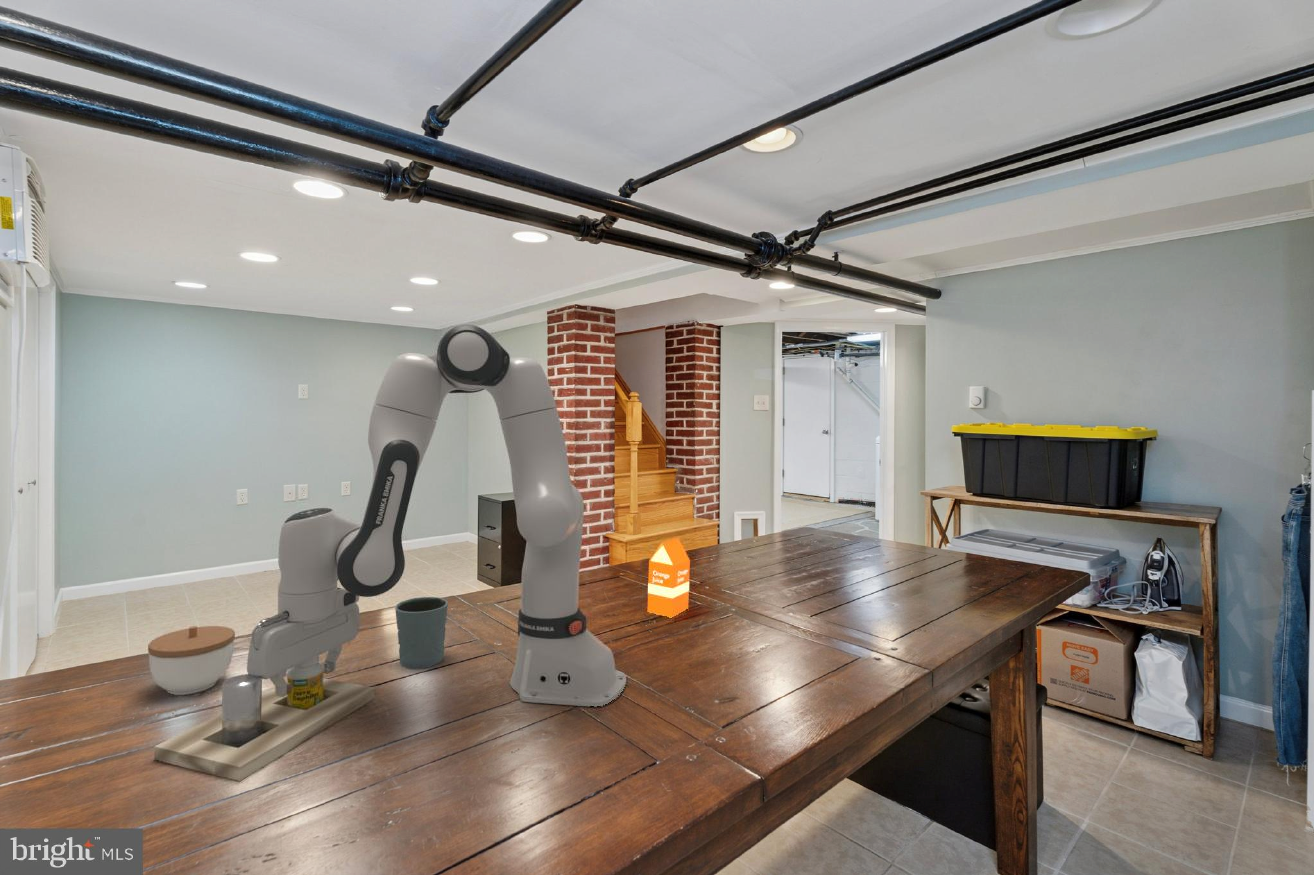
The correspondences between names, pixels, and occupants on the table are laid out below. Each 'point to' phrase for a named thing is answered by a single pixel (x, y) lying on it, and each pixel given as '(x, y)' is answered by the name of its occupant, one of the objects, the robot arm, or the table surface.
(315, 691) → the supplement bottle
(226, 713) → the steel pin
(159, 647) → the lidded bowl
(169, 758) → the pin board
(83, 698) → the table surface
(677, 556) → the orange juice
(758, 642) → the table surface
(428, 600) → the blue-grey cup
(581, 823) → the table surface
